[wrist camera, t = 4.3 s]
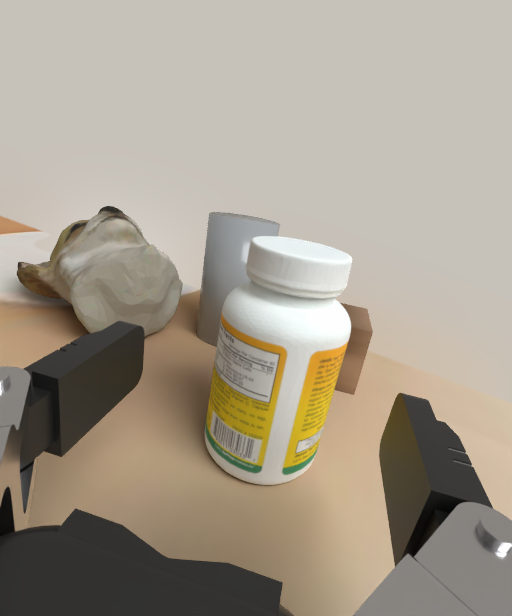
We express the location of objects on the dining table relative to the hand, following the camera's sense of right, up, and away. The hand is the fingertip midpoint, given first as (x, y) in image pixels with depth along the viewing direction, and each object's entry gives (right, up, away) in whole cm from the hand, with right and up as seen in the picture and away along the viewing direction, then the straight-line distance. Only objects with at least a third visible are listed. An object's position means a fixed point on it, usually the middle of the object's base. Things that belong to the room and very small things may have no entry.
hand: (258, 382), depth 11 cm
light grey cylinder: (-2, 0, +17) cm, 17 cm away
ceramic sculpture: (-12, +2, +17) cm, 21 cm away
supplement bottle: (0, -4, +6) cm, 7 cm away
